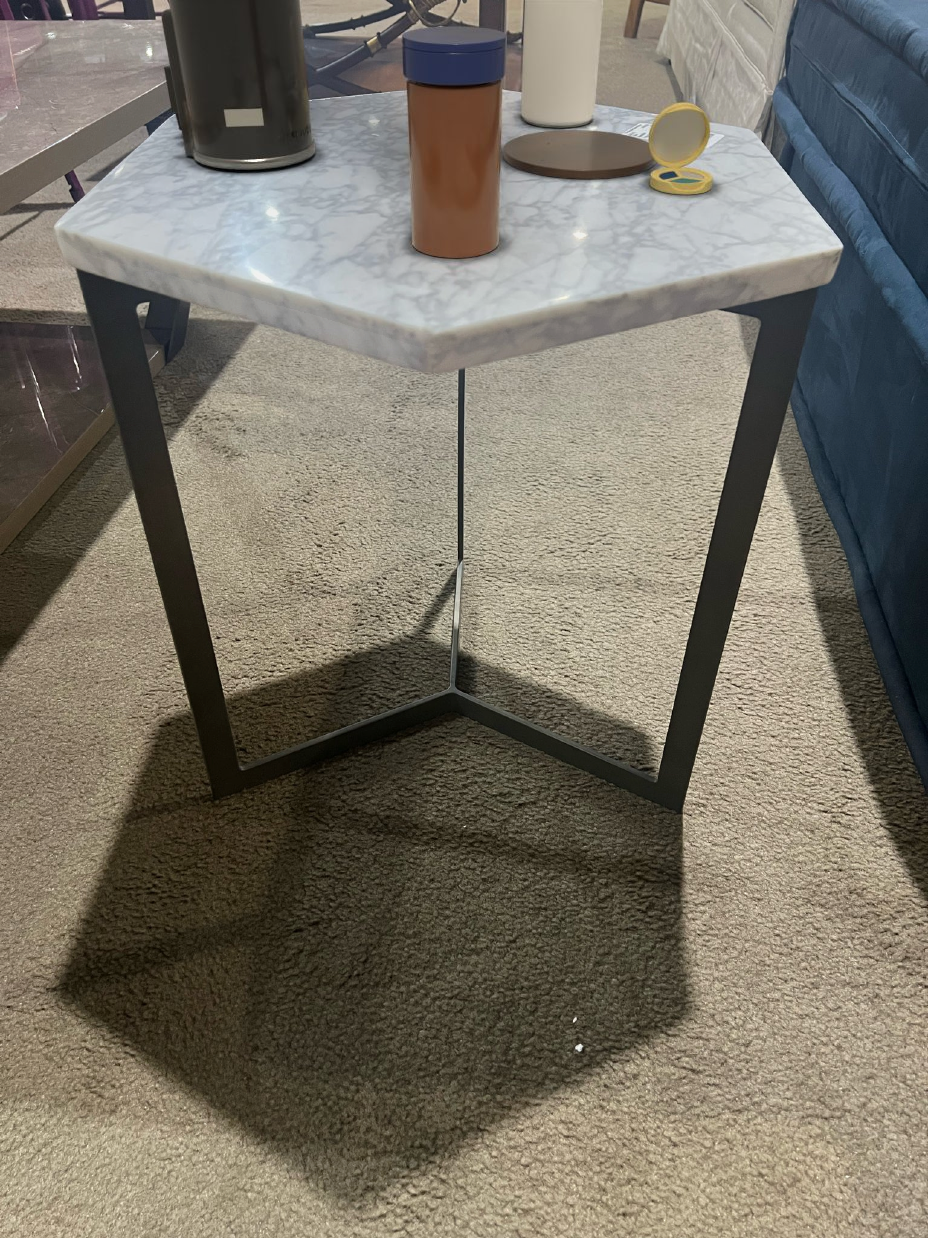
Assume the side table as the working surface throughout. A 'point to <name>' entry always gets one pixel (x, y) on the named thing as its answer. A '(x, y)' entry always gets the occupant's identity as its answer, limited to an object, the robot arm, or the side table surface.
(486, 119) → the jar
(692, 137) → the eyeshadow
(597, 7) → the can
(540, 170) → the coaster
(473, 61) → the jar lid
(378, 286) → the side table surface
